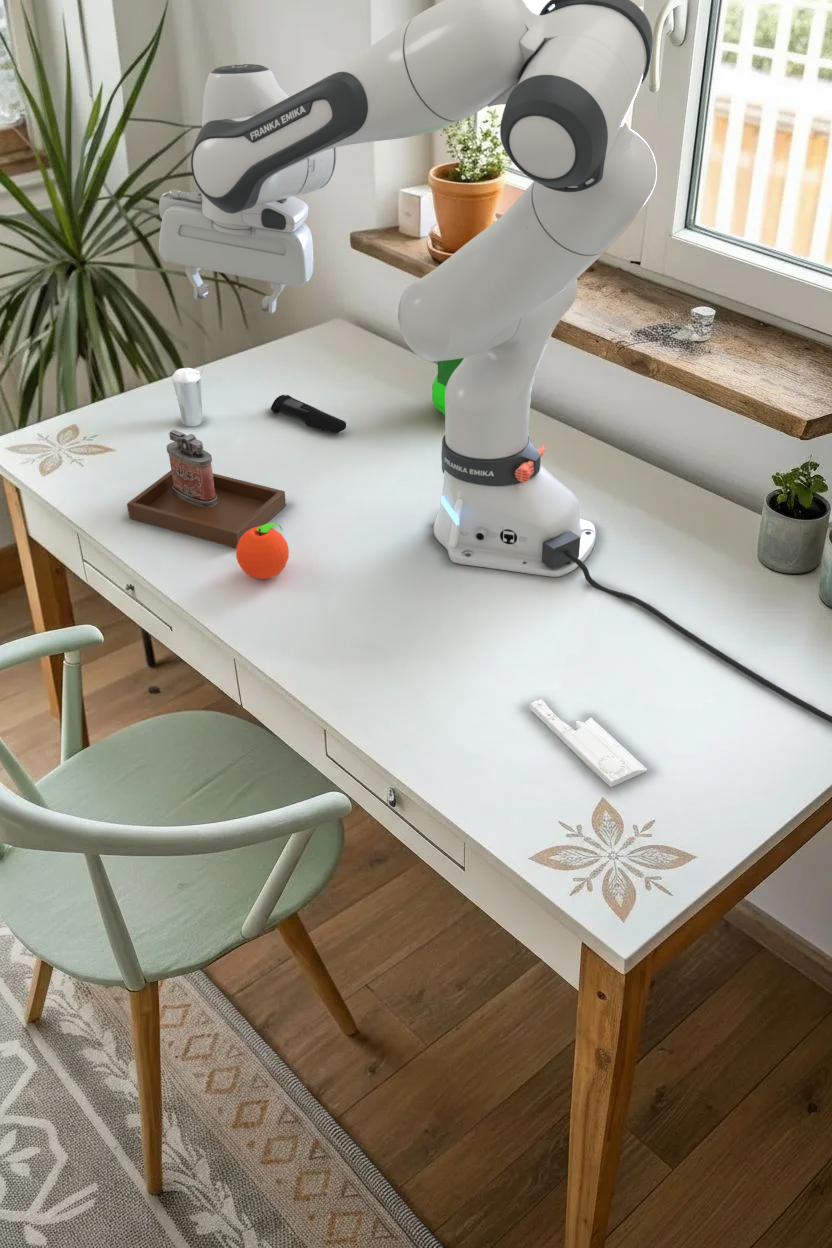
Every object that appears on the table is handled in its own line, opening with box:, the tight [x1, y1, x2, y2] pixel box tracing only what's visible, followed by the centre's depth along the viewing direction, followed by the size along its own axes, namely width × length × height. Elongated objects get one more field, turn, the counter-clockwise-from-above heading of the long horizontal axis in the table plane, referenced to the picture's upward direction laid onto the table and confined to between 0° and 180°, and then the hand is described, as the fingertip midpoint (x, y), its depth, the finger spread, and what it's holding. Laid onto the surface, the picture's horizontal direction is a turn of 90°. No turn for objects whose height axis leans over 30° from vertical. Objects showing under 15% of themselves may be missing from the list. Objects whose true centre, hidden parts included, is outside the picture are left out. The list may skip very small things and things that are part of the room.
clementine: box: [235, 522, 290, 580], centre depth 160 cm, size 8×7×7 cm
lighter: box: [166, 429, 217, 507], centre depth 175 cm, size 8×3×10 cm, turn 51°
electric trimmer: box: [270, 394, 347, 435], centre depth 196 cm, size 4×16×3 cm, turn 48°
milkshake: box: [171, 365, 205, 427], centre depth 195 cm, size 4×5×10 cm
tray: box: [126, 470, 287, 549], centre depth 174 cm, size 19×13×2 cm
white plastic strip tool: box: [529, 698, 648, 788], centre depth 134 cm, size 5×15×1 cm, turn 30°
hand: (235, 304), depth 162 cm, fingers open, 8 cm apart
